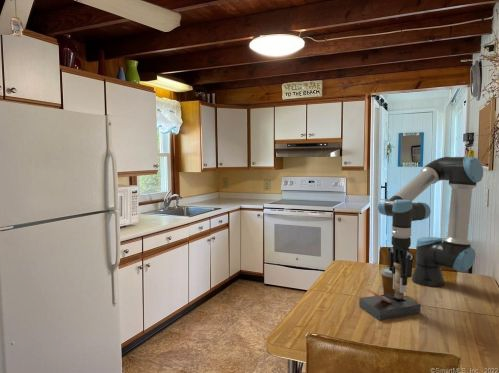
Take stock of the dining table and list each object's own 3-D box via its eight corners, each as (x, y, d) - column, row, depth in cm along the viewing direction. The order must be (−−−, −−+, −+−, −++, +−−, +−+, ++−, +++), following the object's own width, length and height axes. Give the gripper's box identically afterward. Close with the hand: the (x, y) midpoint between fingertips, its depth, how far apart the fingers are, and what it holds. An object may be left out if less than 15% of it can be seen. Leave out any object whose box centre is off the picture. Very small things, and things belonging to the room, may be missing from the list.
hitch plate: (397, 301, 168) (397, 292, 167) (420, 313, 154) (420, 304, 154) (359, 306, 162) (359, 298, 161) (379, 320, 148) (380, 311, 148)
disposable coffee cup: (403, 299, 169) (404, 274, 168) (381, 298, 171) (382, 272, 170) (399, 292, 179) (400, 267, 177) (378, 290, 180) (379, 266, 179)
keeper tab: (383, 299, 160) (384, 296, 160) (392, 304, 155) (393, 301, 155) (366, 290, 157) (367, 287, 157) (374, 295, 152) (376, 292, 152)
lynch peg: (399, 294, 162) (400, 261, 161) (407, 298, 157) (409, 264, 156) (390, 295, 161) (391, 262, 159) (398, 300, 156) (399, 265, 154)
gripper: (381, 233, 163) (379, 284, 165) (407, 241, 148) (405, 298, 150) (395, 231, 166) (393, 282, 168) (423, 240, 150) (420, 296, 152)
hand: (399, 290), depth 159 cm, fingers closed on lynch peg, 3 cm apart
